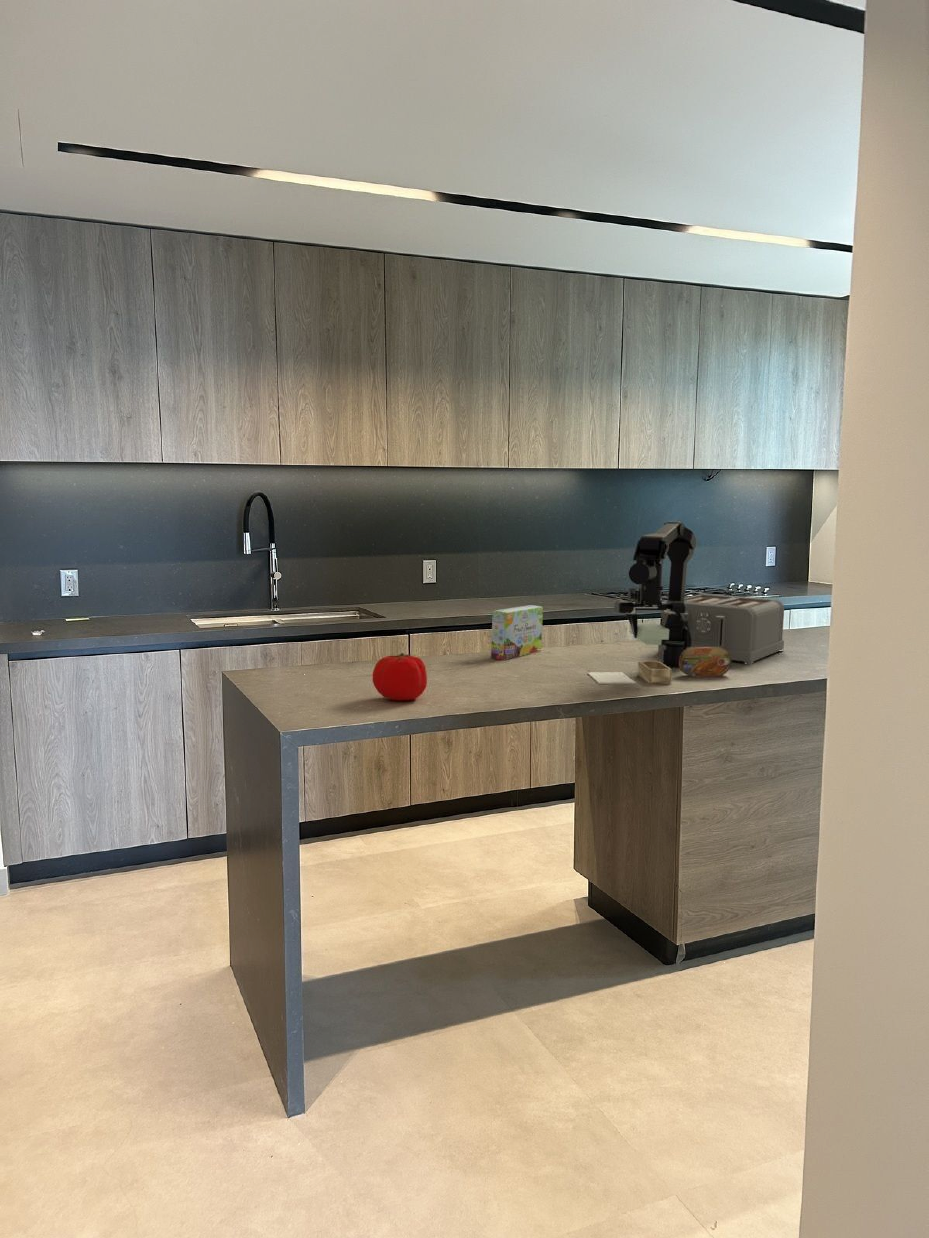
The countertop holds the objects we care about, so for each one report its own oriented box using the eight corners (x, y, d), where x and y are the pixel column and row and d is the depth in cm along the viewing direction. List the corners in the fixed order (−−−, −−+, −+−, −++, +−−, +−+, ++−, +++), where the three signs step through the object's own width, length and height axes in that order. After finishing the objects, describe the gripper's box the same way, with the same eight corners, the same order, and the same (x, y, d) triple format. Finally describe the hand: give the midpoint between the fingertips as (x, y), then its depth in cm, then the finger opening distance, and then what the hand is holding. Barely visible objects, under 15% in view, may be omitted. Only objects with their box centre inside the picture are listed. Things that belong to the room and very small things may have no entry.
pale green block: (654, 638, 262) (655, 622, 261) (668, 645, 250) (669, 629, 249) (629, 638, 261) (630, 622, 261) (642, 645, 249) (643, 629, 248)
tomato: (427, 705, 223) (428, 657, 221) (372, 705, 222) (372, 657, 220) (425, 694, 235) (426, 649, 233) (372, 694, 234) (373, 649, 232)
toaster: (652, 655, 296) (654, 601, 294) (695, 641, 325) (698, 592, 322) (746, 667, 278) (749, 610, 276) (783, 651, 307) (787, 599, 304)
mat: (622, 673, 264) (622, 672, 264) (635, 683, 251) (635, 682, 251) (587, 673, 264) (587, 672, 263) (598, 684, 250) (599, 682, 250)
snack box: (505, 661, 282) (506, 612, 280) (490, 658, 285) (491, 610, 283) (542, 651, 298) (543, 605, 296) (528, 649, 302) (529, 604, 300)
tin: (680, 677, 261) (682, 648, 260) (676, 675, 264) (678, 646, 263) (731, 676, 263) (732, 647, 262) (726, 674, 266) (728, 645, 265)
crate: (658, 674, 263) (658, 661, 263) (671, 683, 251) (671, 669, 251) (637, 675, 263) (638, 661, 262) (649, 683, 251) (650, 669, 250)
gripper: (674, 579, 262) (672, 633, 264) (610, 578, 260) (608, 633, 262) (688, 583, 251) (685, 639, 253) (620, 582, 249) (618, 639, 251)
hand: (648, 637), depth 255 cm, fingers closed on pale green block, 7 cm apart
